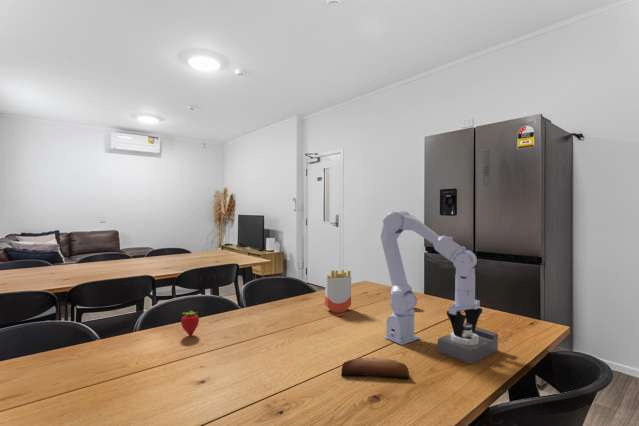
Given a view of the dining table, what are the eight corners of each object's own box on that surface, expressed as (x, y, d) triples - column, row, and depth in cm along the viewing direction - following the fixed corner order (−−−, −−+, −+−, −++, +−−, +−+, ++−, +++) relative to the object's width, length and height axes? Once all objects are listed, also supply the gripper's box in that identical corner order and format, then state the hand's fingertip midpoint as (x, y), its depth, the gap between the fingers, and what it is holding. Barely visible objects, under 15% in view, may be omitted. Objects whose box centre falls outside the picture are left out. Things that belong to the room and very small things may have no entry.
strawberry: (180, 340, 114) (180, 311, 114) (181, 332, 121) (181, 305, 121) (198, 338, 116) (198, 309, 116) (199, 331, 123) (199, 303, 123)
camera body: (471, 364, 98) (471, 345, 98) (437, 351, 107) (437, 334, 106) (497, 350, 107) (497, 333, 107) (465, 339, 116) (465, 323, 116)
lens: (466, 343, 103) (466, 327, 103) (453, 339, 106) (453, 323, 106) (475, 340, 105) (475, 324, 105) (462, 336, 109) (462, 320, 109)
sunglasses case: (403, 364, 97) (406, 349, 94) (407, 388, 91) (410, 373, 88) (341, 362, 99) (341, 347, 95) (341, 385, 93) (341, 370, 89)
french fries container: (324, 309, 150) (324, 269, 149) (347, 307, 153) (347, 268, 152) (327, 312, 145) (327, 271, 145) (351, 310, 148) (351, 270, 148)
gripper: (464, 296, 98) (464, 342, 98) (489, 288, 107) (488, 331, 107) (442, 291, 104) (442, 335, 104) (468, 284, 112) (467, 325, 112)
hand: (464, 332), depth 106 cm, fingers open, 7 cm apart
